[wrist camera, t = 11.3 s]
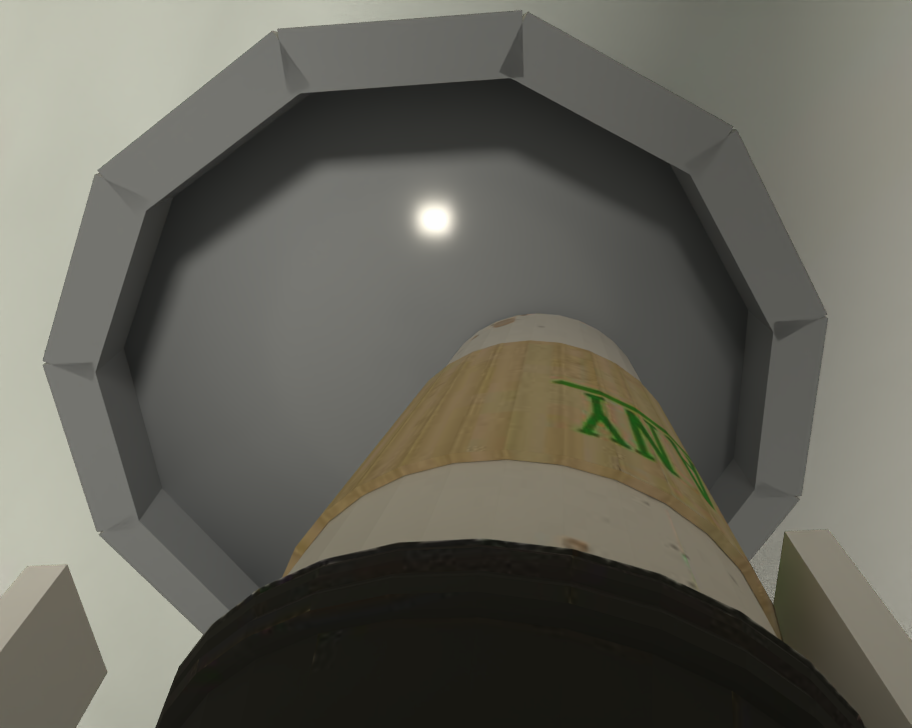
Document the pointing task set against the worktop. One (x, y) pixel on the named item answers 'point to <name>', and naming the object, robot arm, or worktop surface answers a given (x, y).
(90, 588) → the worktop surface
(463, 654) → the coffee cup
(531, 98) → the tray
